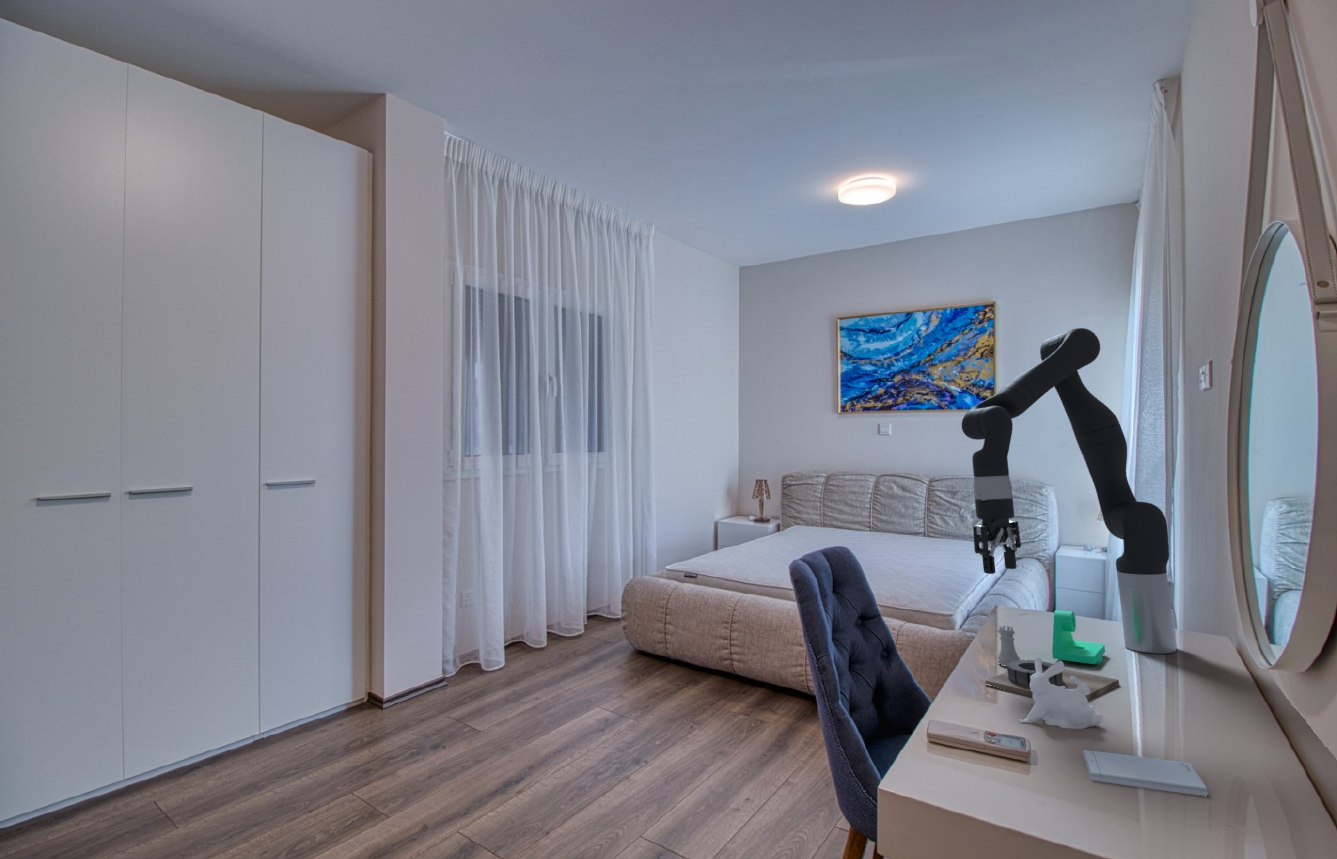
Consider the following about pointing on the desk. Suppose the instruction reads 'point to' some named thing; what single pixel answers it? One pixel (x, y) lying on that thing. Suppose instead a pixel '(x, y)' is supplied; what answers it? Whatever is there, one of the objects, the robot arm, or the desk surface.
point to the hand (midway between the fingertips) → (1000, 570)
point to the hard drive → (1144, 772)
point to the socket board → (1068, 683)
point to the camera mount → (1073, 641)
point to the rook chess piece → (1007, 646)
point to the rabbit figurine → (1060, 701)
